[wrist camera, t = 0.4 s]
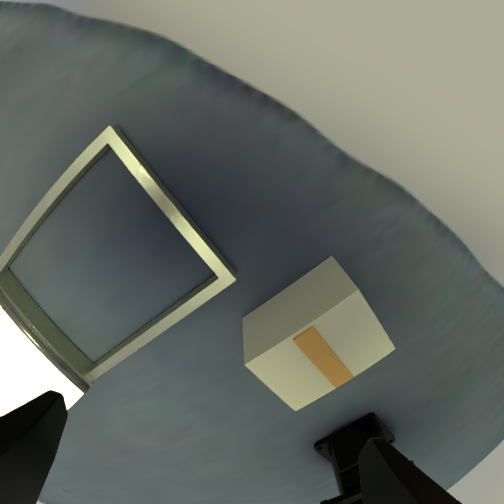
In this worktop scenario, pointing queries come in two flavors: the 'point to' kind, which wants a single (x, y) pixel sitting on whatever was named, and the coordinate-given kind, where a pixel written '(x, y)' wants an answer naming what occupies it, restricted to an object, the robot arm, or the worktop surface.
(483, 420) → the worktop surface
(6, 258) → the case
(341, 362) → the block
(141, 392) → the worktop surface
